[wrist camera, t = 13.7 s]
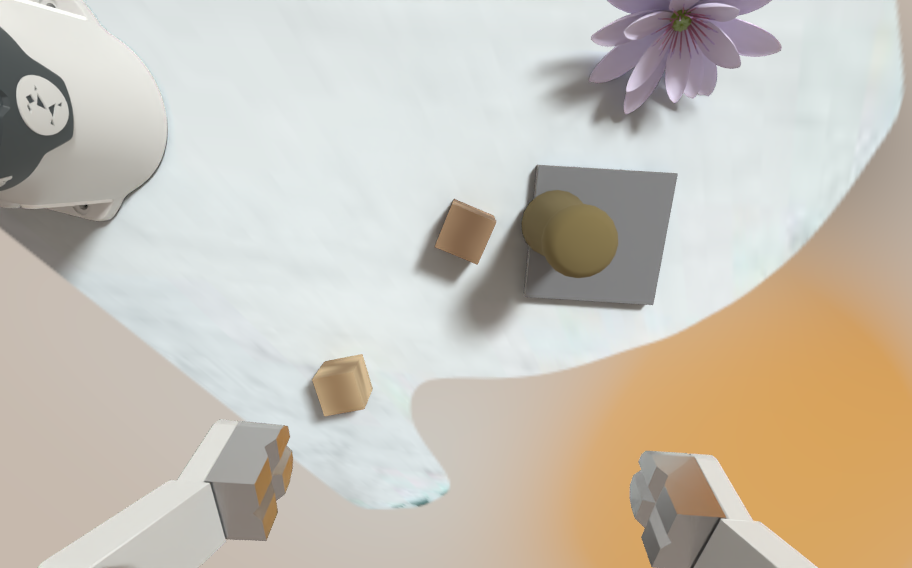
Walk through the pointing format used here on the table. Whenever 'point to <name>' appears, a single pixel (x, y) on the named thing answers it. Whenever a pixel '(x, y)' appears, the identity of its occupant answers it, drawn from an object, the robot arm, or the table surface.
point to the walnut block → (465, 231)
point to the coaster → (638, 225)
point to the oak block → (343, 385)
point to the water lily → (678, 45)
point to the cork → (570, 233)
